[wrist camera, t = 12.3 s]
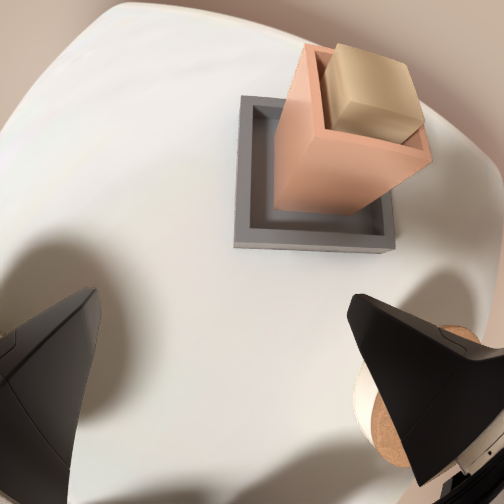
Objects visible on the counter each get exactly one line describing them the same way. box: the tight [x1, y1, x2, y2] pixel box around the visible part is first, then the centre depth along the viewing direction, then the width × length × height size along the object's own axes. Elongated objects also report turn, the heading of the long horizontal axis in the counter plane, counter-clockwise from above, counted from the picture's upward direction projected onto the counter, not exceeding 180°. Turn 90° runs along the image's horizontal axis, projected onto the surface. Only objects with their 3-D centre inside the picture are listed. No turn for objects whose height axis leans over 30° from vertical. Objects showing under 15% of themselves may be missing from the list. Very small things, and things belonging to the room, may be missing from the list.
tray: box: [233, 95, 395, 254], centre depth 22 cm, size 12×12×2 cm
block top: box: [319, 44, 425, 144], centre depth 12 cm, size 4×4×4 cm
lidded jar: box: [353, 325, 481, 467], centre depth 17 cm, size 11×11×9 cm
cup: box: [273, 44, 433, 216], centre depth 17 cm, size 6×6×11 cm
